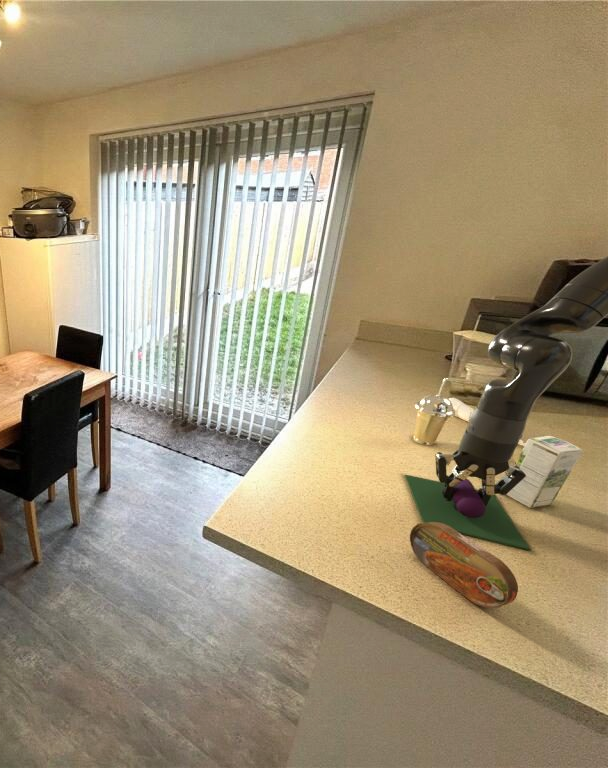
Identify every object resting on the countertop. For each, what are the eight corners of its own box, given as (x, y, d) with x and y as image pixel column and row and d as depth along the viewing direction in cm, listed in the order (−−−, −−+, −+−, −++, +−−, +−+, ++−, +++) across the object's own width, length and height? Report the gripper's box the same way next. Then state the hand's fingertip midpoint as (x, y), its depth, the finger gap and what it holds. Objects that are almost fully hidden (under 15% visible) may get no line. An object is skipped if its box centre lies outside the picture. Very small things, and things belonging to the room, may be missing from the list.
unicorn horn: (517, 450, 103) (524, 435, 101) (438, 410, 125) (443, 397, 123) (533, 449, 104) (541, 434, 102) (451, 410, 125) (457, 396, 124)
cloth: (491, 494, 88) (492, 492, 88) (529, 550, 73) (530, 549, 73) (404, 475, 94) (405, 474, 94) (423, 524, 79) (424, 523, 79)
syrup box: (520, 488, 89) (548, 433, 83) (552, 506, 84) (584, 448, 78) (500, 492, 88) (527, 436, 83) (531, 509, 83) (562, 451, 77)
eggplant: (463, 487, 88) (470, 471, 86) (484, 525, 78) (493, 507, 76) (438, 482, 90) (445, 466, 88) (456, 518, 79) (464, 501, 78)
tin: (403, 548, 74) (416, 513, 71) (416, 545, 75) (430, 510, 71) (493, 621, 60) (515, 582, 57) (509, 616, 61) (531, 577, 58)
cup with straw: (420, 431, 113) (443, 367, 105) (453, 447, 105) (480, 379, 97) (396, 435, 111) (418, 370, 104) (428, 452, 103) (454, 383, 95)
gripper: (532, 431, 76) (498, 501, 83) (441, 417, 82) (416, 483, 89) (552, 450, 70) (514, 524, 77) (452, 433, 76) (424, 503, 83)
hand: (461, 502), depth 83 cm, fingers closed on eggplant, 4 cm apart
